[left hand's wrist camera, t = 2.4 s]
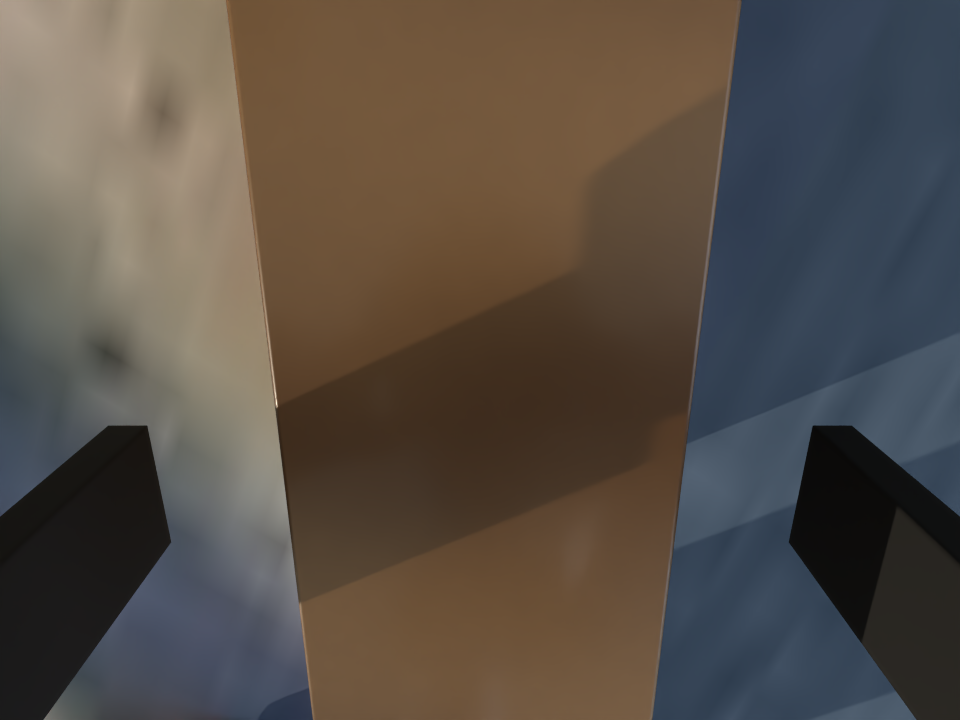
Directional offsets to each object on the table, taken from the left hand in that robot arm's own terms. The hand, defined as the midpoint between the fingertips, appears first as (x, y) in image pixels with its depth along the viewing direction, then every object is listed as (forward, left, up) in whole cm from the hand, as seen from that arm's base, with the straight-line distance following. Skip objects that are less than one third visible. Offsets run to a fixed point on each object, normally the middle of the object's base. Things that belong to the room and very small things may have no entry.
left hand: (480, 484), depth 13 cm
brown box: (+8, +2, -5) cm, 10 cm away
